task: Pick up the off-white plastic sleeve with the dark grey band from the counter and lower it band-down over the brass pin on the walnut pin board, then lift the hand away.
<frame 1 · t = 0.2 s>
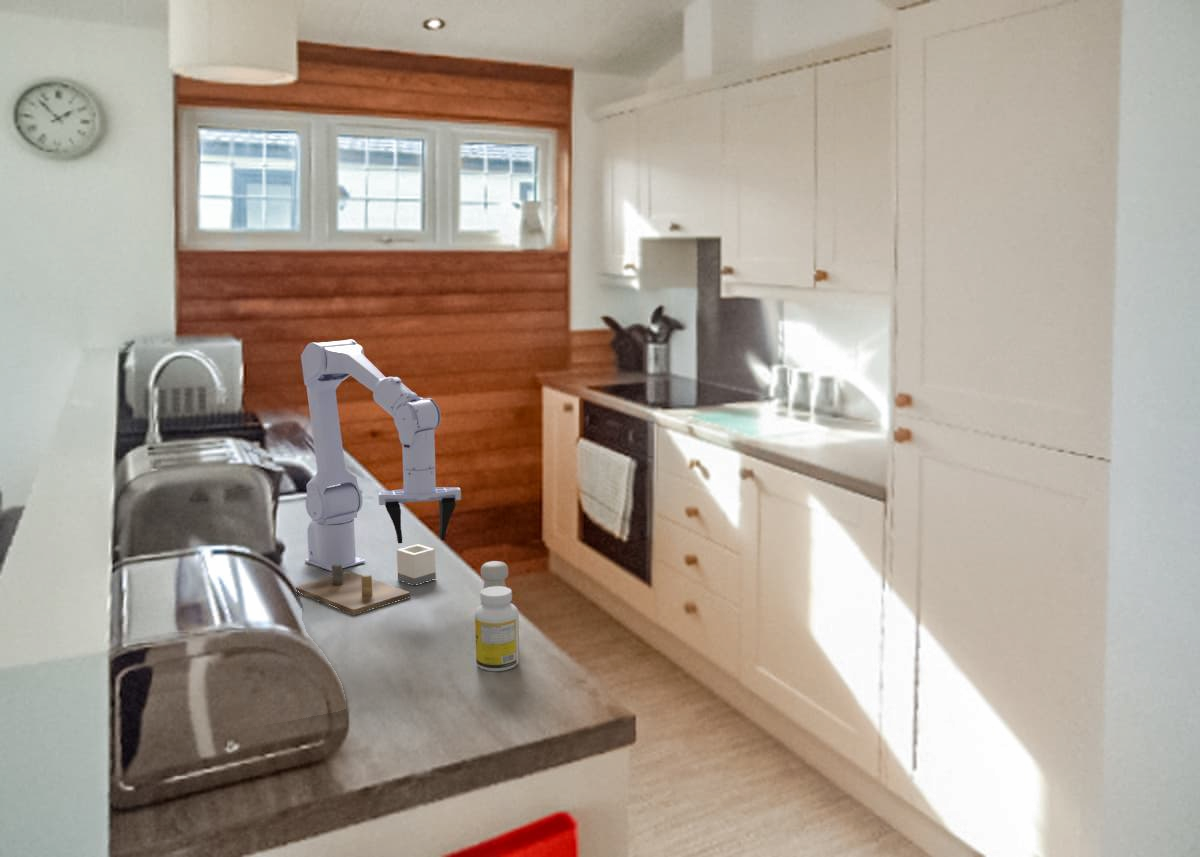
hand: (421, 540, 194), 9 cm above the worktop, tool pointing down, fingers open, 7 cm apart
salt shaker: (495, 642, 171), on the worktop
pin board: (352, 594, 193), on the worktop
sleeve: (416, 580, 201), on the worktop
pill bottle: (497, 665, 162), on the worktop
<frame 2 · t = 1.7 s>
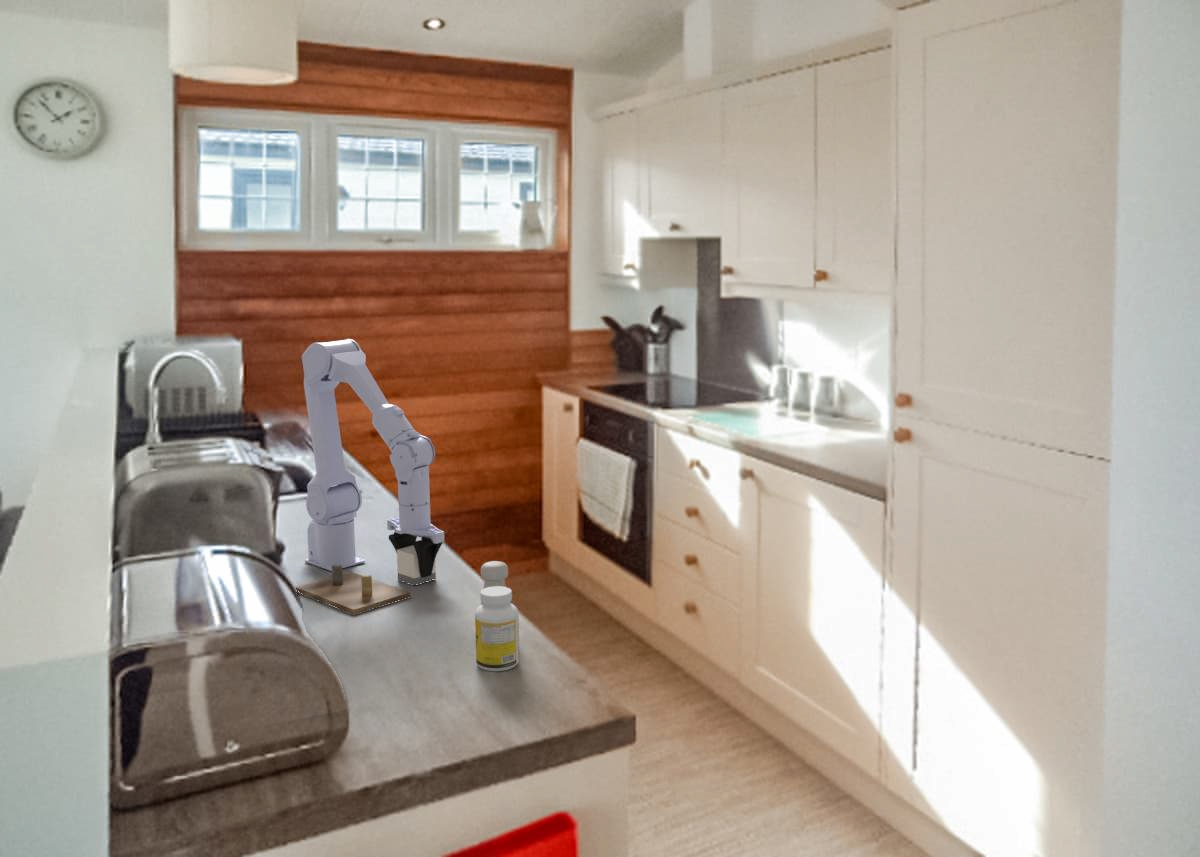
hand: (416, 572, 201), 1 cm above the worktop, tool pointing down, fingers closed on sleeve, 5 cm apart
sleeve: (416, 580, 201), on the worktop, touching gripper
everything else where it was.
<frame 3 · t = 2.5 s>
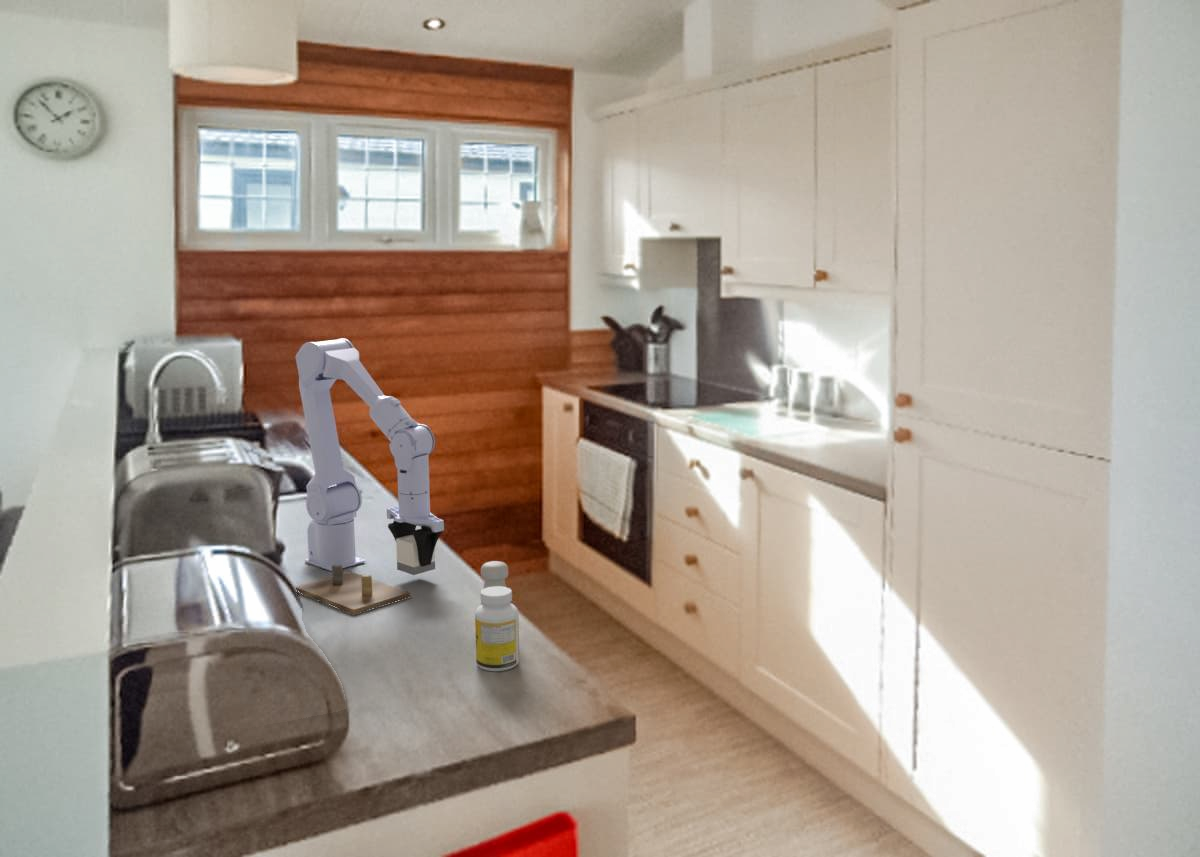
hand: (416, 561, 201), 4 cm above the worktop, tool pointing down, fingers closed on sleeve, 5 cm apart
sleeve: (416, 569, 201), point 2 cm above the worktop, touching gripper
everything else where it was.
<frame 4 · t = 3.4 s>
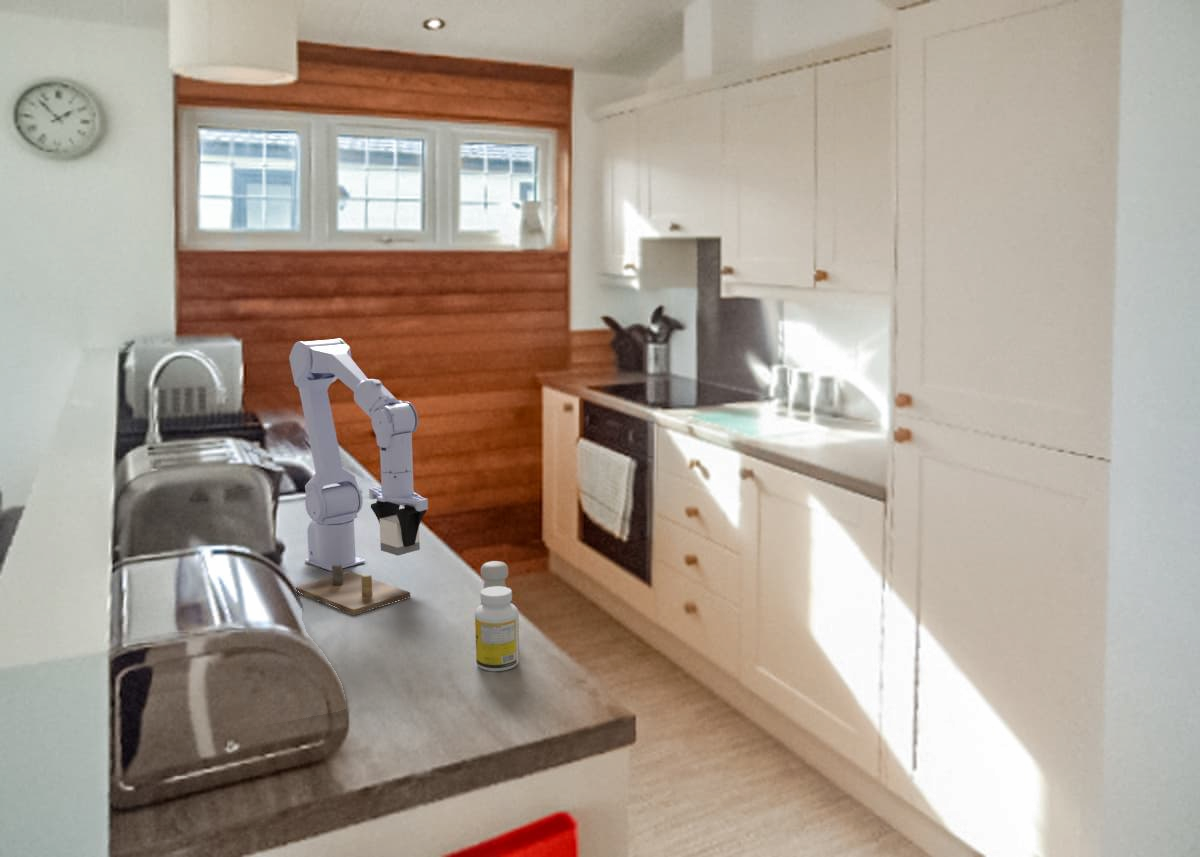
hand: (399, 542, 196), 8 cm above the worktop, tool pointing down, fingers closed on sleeve, 5 cm apart
sleeve: (400, 550, 196), point 7 cm above the worktop, touching gripper
everything else where it was.
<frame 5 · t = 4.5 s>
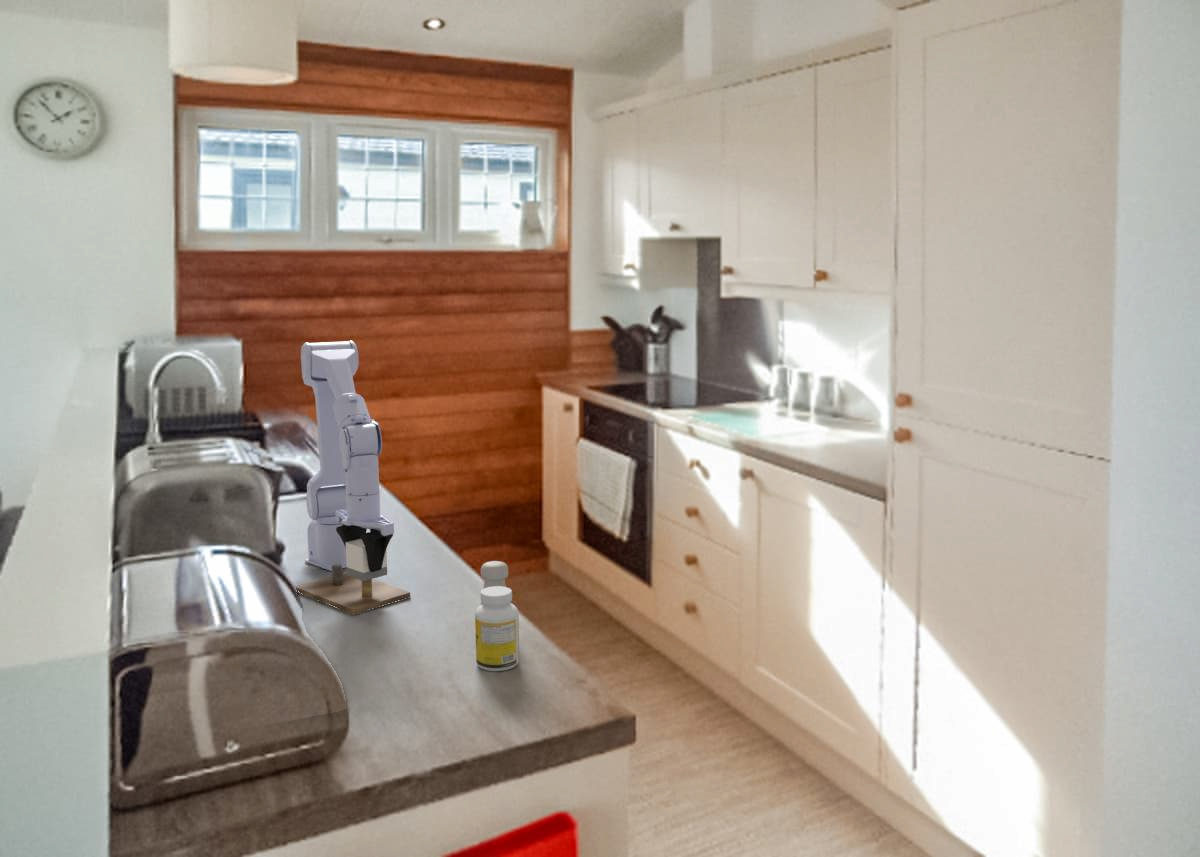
hand: (366, 567, 189), 6 cm above the worktop, tool pointing down, fingers closed on sleeve, 5 cm apart
sleeve: (367, 574, 190), point 5 cm above the worktop, touching gripper
everything else where it was.
when the fingers open (4 cm above the worktop, at t = 5.5 s): sleeve drops 1 cm, resting on pin board.
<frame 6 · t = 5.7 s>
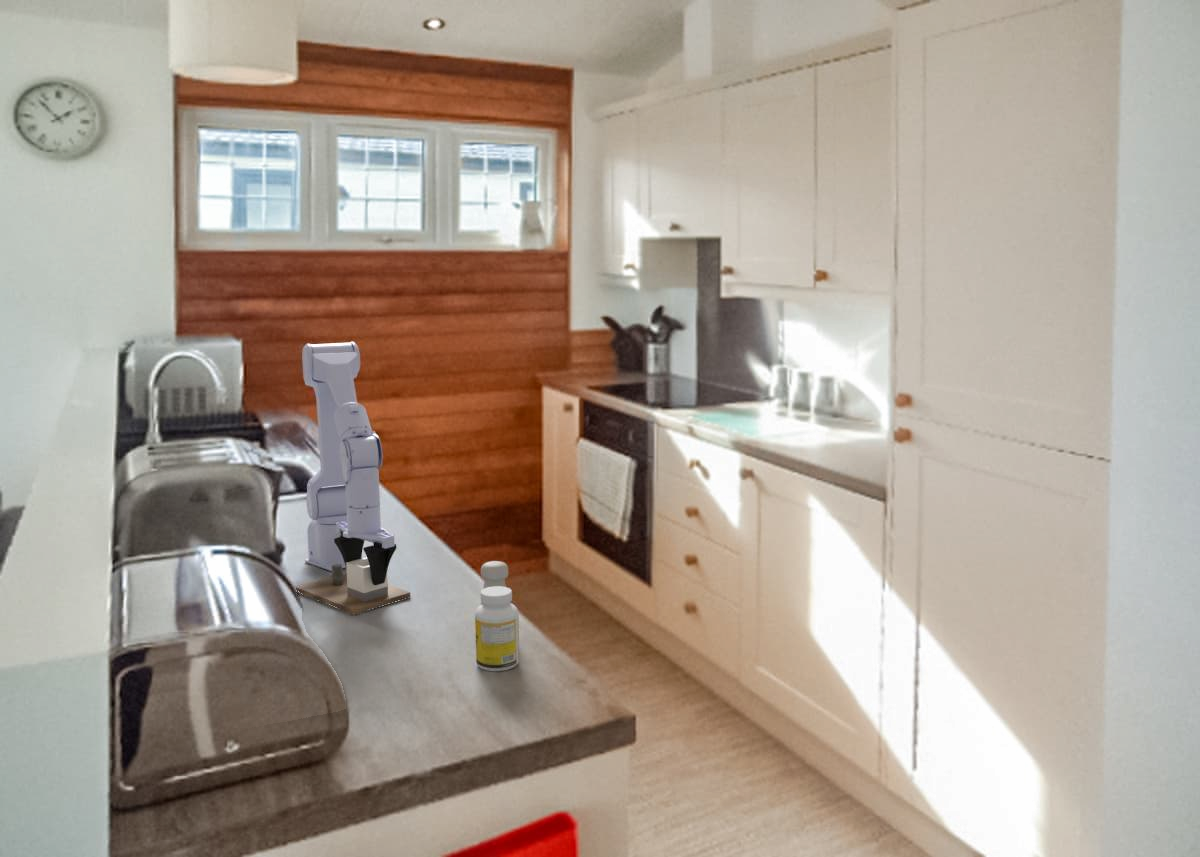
hand: (366, 579, 190), 4 cm above the worktop, tool pointing down, fingers open, 7 cm apart
sleeve: (367, 594, 190), point 1 cm above the worktop, touching pin board
everything else where it was.
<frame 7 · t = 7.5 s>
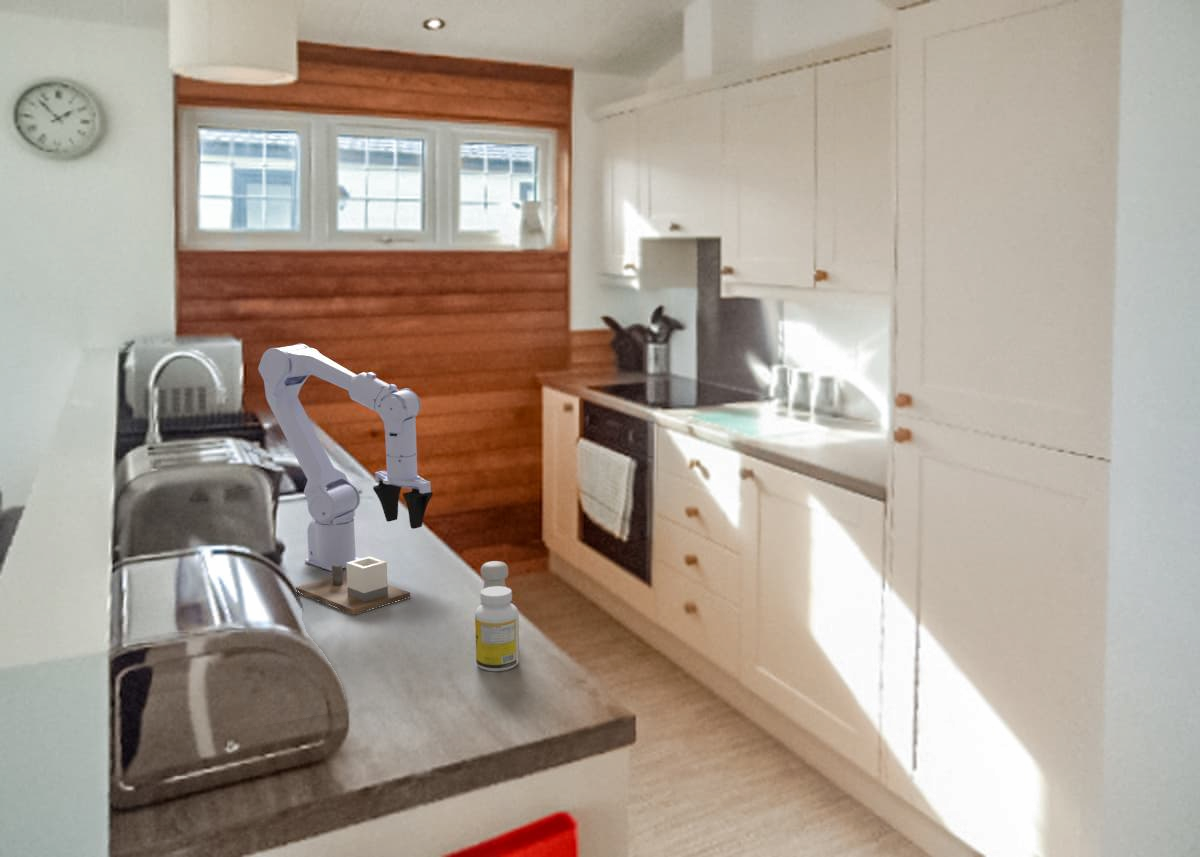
hand: (403, 523, 205), 9 cm above the worktop, tool pointing down, fingers open, 7 cm apart
nothing on the worktop moved.
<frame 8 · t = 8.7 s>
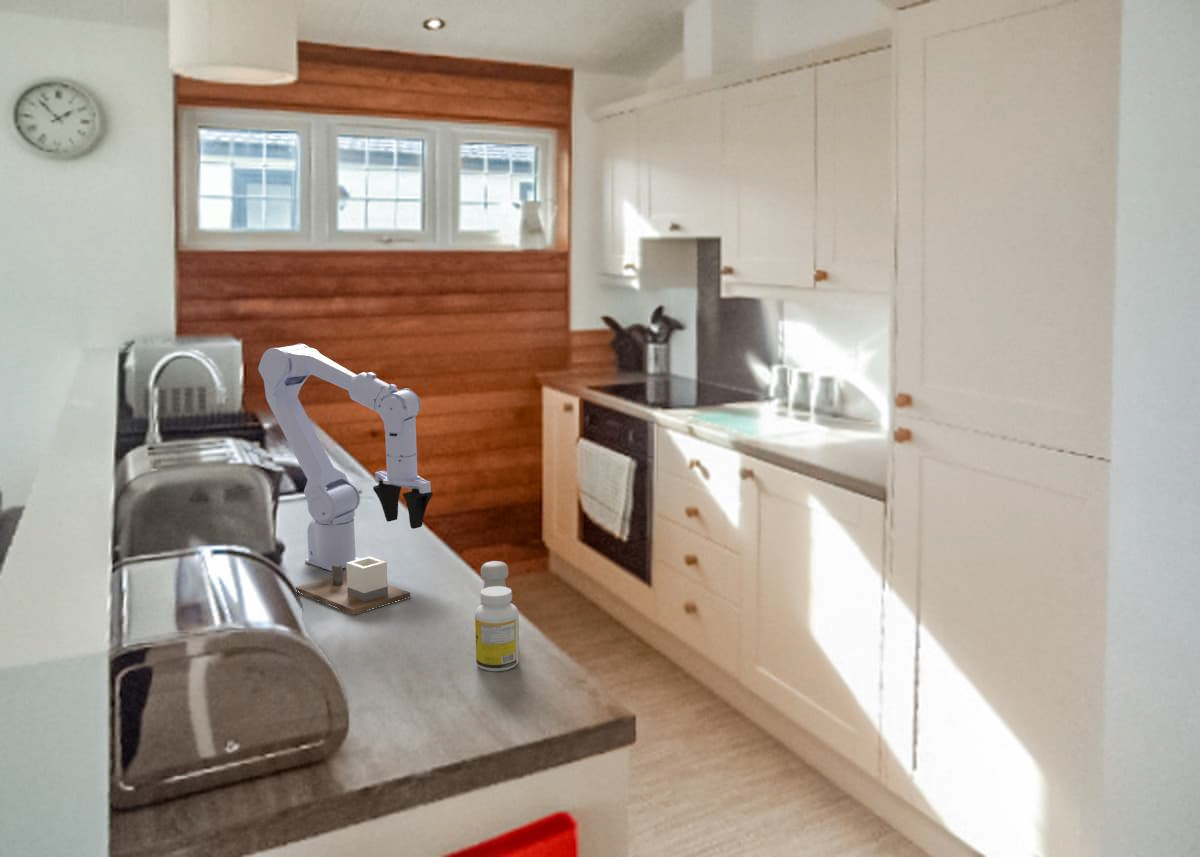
hand: (403, 523, 205), 9 cm above the worktop, tool pointing down, fingers open, 7 cm apart
nothing on the worktop moved.
at the end: sleeve 0.2 cm from the target spot on the pin board, point 1.0 cm above the pin board's base; sleeve tilted 0°; the gripper is holding nothing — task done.
